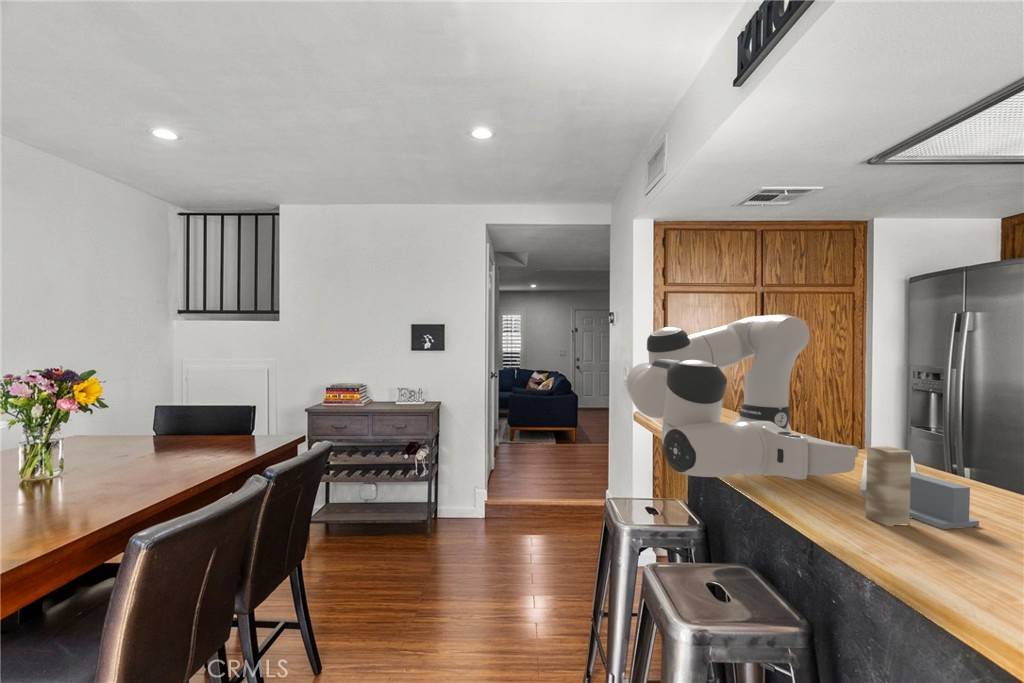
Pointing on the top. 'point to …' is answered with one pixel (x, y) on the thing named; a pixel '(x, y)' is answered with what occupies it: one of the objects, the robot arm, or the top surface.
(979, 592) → the top surface
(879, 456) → the ash post
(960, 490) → the ridge block
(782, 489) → the top surface
